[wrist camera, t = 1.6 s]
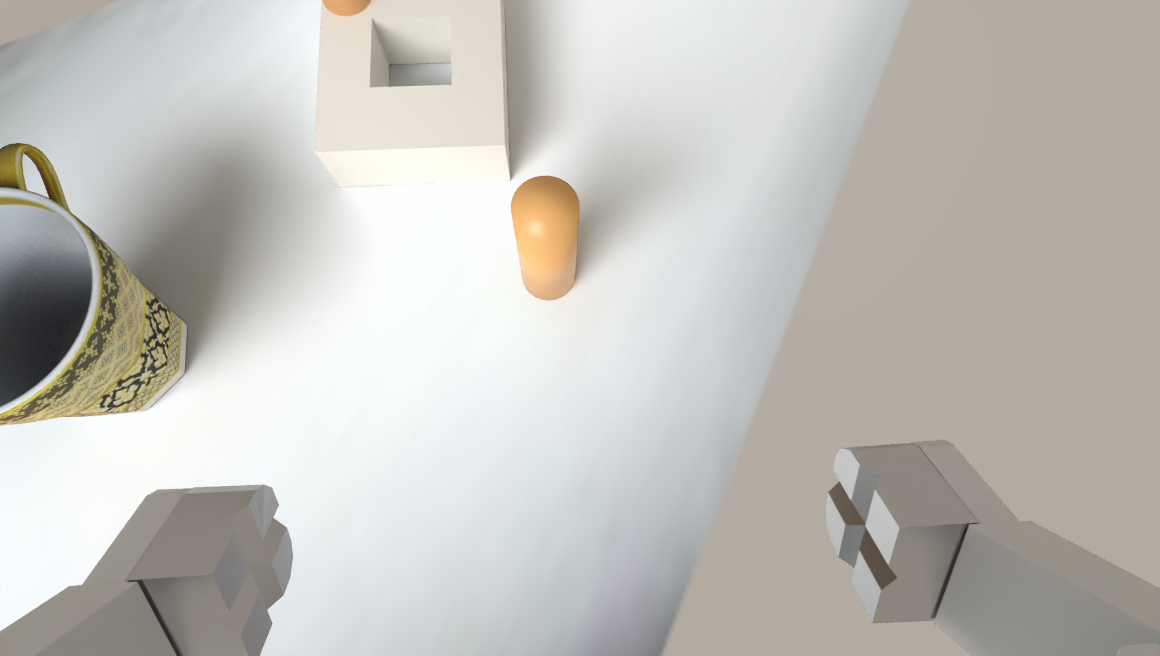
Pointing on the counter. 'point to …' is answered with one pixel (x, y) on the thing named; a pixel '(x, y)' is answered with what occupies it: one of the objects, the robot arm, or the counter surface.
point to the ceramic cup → (73, 312)
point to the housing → (412, 93)
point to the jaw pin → (546, 235)
